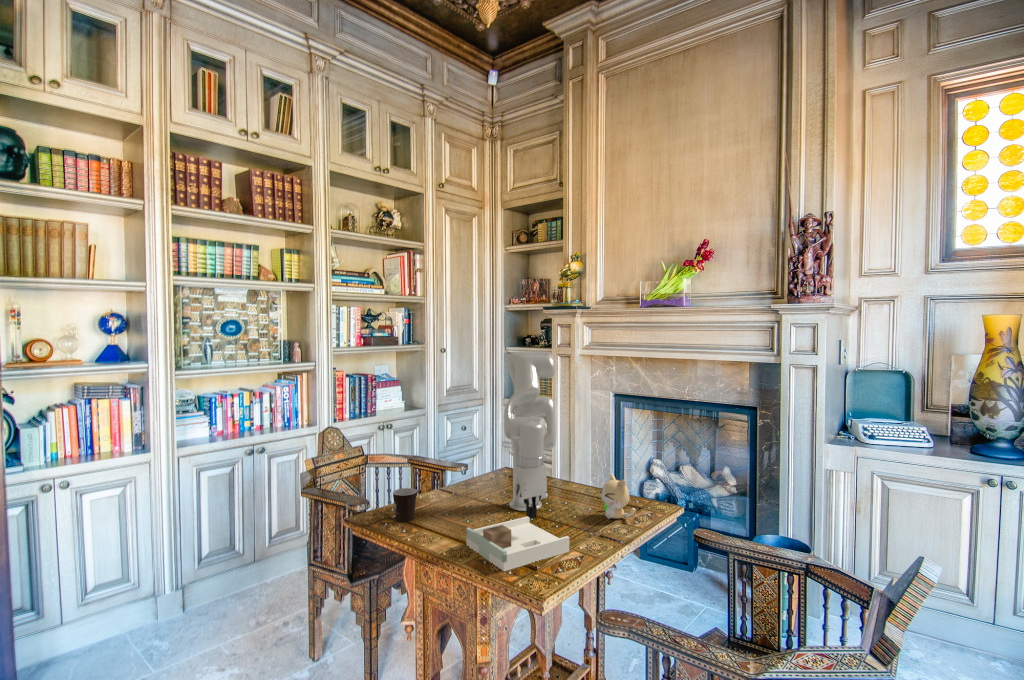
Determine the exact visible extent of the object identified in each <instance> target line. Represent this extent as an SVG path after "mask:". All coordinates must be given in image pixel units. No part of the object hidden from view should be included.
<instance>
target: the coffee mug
mask: <svg viewBox="0 0 1024 680" xmlns="http://www.w3.org/2000/svg"><path fill="white" fill-rule="evenodd" d="M417 495H418V490H417V489H415V488H412V487H411V488H410V487H409V488H408V487H404V488H398V489H395V490H393V491H392V499H393V505H394V506H393V507H394V512H395V513H394V515H395V521H396V522H398V523H409V522H412V521H414V520H413V519H415V511H416V502H417Z"/></svg>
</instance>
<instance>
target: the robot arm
mask: <svg viewBox="0 0 1024 680" xmlns="http://www.w3.org/2000/svg"><path fill="white" fill-rule="evenodd" d="M506 367H507V369H508V373H509V376H510V378H511V381H512V385H513V394H512V395H511V397H510V398H509V399H508V401H507V402H506V404H505V406H504V409H503V431H504V436H505V437H506V438H507V439H509V440H510V443H511V449H512V485H513V486H512V493H513V495H512V500H511V501H509V503H508V504H509V508H510V509H512V510H514V511H519V512H525V514H526V517H527V516H528V517H529V518H530V520H533V519H536V518H537V513H538V510H540V509H541V508H542V506H543V504H542V503H543V502H541V500H544V499H547V498H548V497H549V495H548V493H547V492H548V479H547V478H548V477H547V470H546V469H547V468H546V465H545V463H544V460H546V455H545V454H544V450H552V449H554V448H555V446H556V444H557V443H556V442H557V428H556V427H557V426H556V407H555V402H554V400H553V398H551V396H540V394H541V386H540V379H552V378H553V377H554V376H555V373H556V363H555V359H554V356H553V355H552V354H551V352H549V351H515V352H511V353H509V354H508V355H507V357H506ZM513 412H514V416H513Z"/></svg>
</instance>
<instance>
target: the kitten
mask: <svg viewBox="0 0 1024 680" xmlns="http://www.w3.org/2000/svg"><path fill="white" fill-rule="evenodd" d="M600 497H601V500H602V502H603V512H604V511H605V514H604V516H605V518H607V519H608V520H610V519H613V520H615V519H618V520H619V519H622V518H628V517H631V516H633V515H634V514H636V508H634V507H631V508H630V510H629V511H628V512H625V511H624V509H623V508H624V507H626V506H627V504H629V502H630V492H629V488H628V487H627V485H626V480H625V479H621V480H619V479H616V477H615V475H614V473H613V472H611V473H610V475H609V480H608V481H606V482H605V483H604V484H603V486H602V487H601V490H600Z"/></svg>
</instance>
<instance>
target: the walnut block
mask: <svg viewBox="0 0 1024 680" xmlns="http://www.w3.org/2000/svg"><path fill="white" fill-rule="evenodd" d="M483 537H485V538H487V539H488V540H490V541H491V542H493V543H494V544H496V545H498V546H499V547H501V548H502V549H503V548H507V547H511V530H510V529H509V528H507V527H505V526H503V525H500V526H496V527H492V528H488V529H484V530H483Z"/></svg>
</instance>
